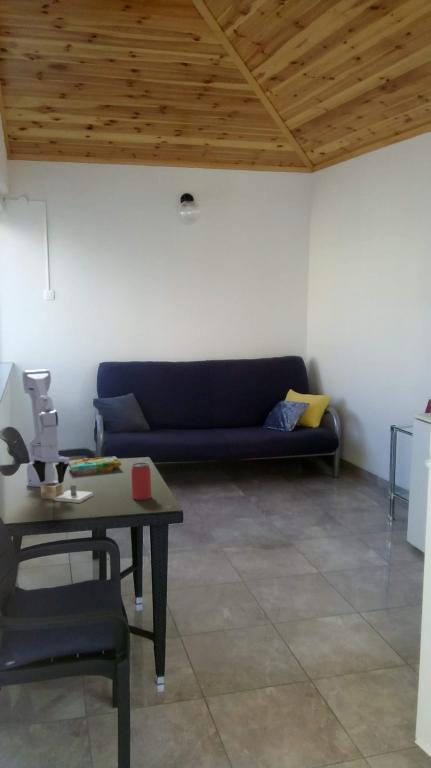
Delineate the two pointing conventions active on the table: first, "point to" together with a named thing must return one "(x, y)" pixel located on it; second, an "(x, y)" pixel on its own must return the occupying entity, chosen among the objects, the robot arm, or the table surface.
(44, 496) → the collar
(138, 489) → the beer can
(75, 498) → the pin block
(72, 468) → the puzzle game
